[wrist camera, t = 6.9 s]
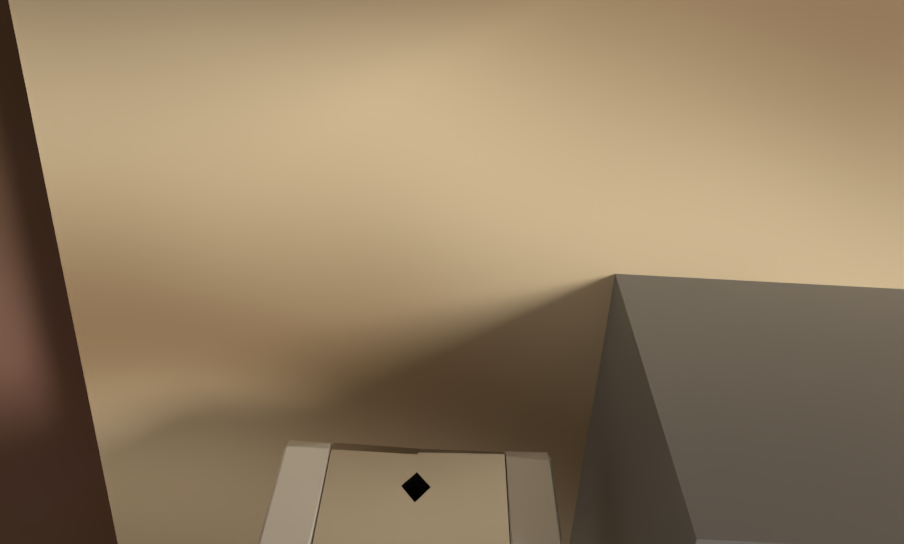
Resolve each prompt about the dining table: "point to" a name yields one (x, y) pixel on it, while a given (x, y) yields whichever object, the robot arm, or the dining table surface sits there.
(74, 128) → the plywood panel
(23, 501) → the dining table surface
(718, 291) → the grey rectangular block
